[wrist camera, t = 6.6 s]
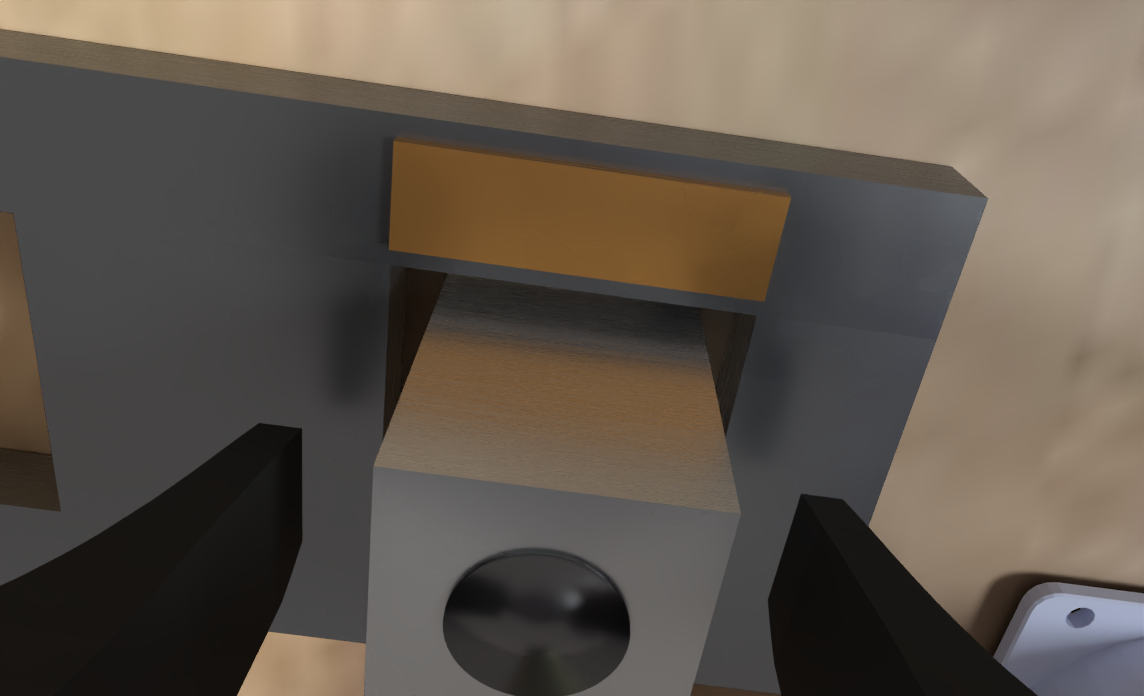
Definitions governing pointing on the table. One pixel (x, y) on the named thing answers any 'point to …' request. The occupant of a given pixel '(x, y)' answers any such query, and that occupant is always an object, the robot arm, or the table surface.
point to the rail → (444, 244)
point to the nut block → (549, 500)
